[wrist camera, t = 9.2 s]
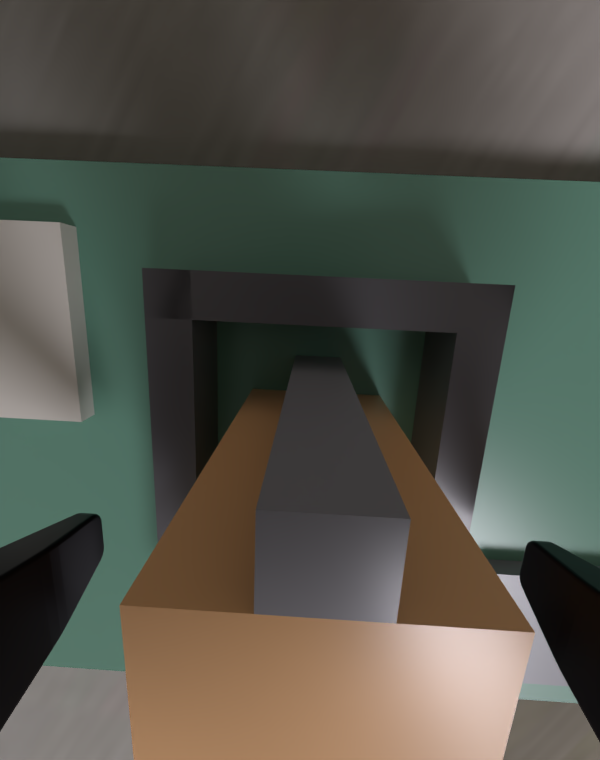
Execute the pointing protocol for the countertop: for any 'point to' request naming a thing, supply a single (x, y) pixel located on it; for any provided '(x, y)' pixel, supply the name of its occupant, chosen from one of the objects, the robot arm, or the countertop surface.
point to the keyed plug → (320, 598)
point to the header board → (294, 348)
